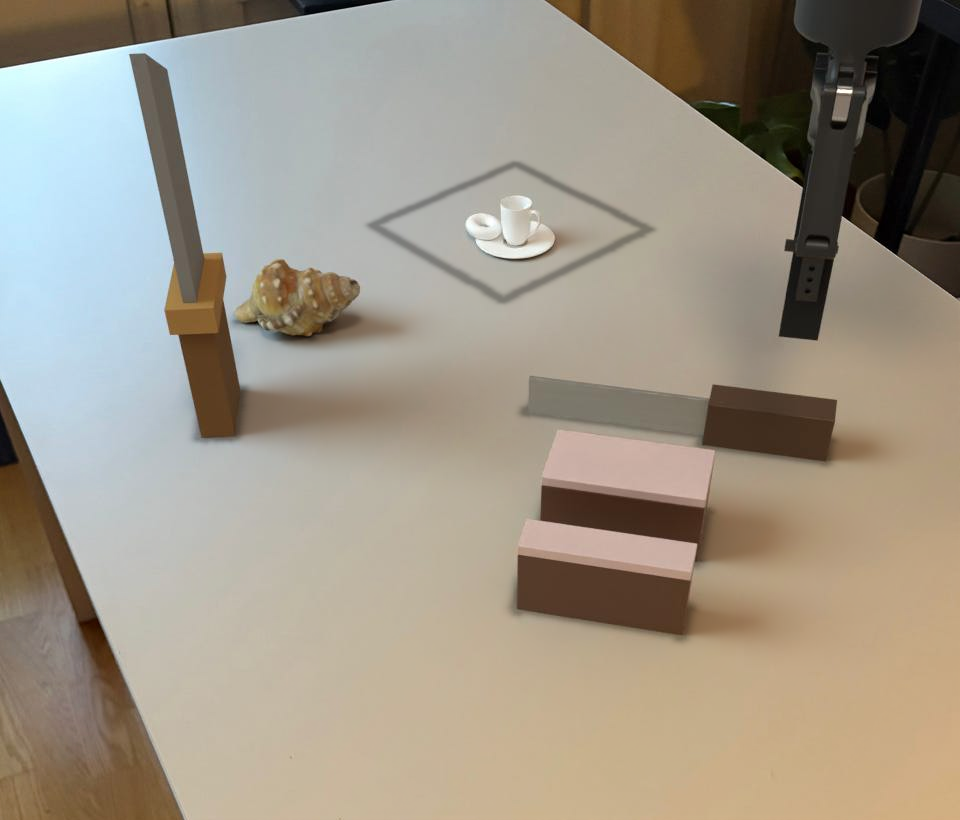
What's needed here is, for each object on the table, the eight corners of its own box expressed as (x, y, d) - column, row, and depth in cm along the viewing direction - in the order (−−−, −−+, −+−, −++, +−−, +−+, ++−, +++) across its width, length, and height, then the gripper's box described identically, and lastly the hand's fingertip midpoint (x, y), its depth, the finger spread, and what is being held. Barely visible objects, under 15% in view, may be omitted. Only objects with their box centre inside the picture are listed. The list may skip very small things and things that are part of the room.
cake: (705, 513, 95) (716, 449, 90) (696, 563, 91) (706, 499, 87) (555, 492, 97) (557, 428, 92) (539, 540, 93) (541, 476, 89)
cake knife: (827, 441, 101) (837, 399, 98) (824, 462, 99) (835, 421, 96) (532, 402, 105) (533, 361, 102) (524, 422, 103) (525, 381, 100)
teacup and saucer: (454, 239, 123) (453, 199, 120) (512, 213, 127) (512, 174, 124) (512, 271, 119) (513, 231, 116) (571, 243, 122) (572, 204, 119)
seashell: (331, 327, 119) (369, 251, 111) (319, 386, 115) (357, 311, 107) (240, 287, 116) (273, 206, 108) (224, 346, 112) (256, 267, 104)
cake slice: (687, 607, 88) (697, 543, 83) (681, 635, 86) (691, 572, 82) (525, 582, 90) (526, 518, 85) (516, 609, 88) (517, 545, 84)
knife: (239, 443, 102) (164, 57, 79) (195, 445, 102) (106, 60, 79) (246, 385, 107) (177, 9, 84) (204, 387, 107) (123, 11, 84)
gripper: (816, -106, 82) (768, 204, 98) (786, 32, 66) (736, 374, 82) (931, -101, 81) (864, 212, 97) (929, 41, 65) (849, 386, 81)
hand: (805, 287), depth 90 cm, fingers open, 13 cm apart
